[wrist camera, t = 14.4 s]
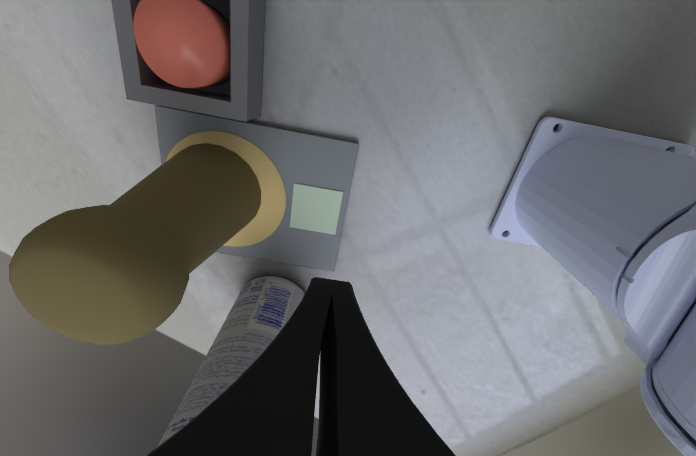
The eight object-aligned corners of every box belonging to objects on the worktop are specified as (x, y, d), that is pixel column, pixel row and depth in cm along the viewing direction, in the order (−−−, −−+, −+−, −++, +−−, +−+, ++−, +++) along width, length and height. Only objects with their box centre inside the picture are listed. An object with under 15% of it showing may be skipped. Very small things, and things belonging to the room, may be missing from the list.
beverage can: (229, 303, 24) (75, 578, 11) (264, 259, 22) (125, 534, 9) (285, 334, 26) (211, 610, 13) (323, 296, 24) (281, 579, 10)
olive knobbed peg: (165, 216, 20) (-16, 347, 10) (170, 128, 17) (-66, 194, 8) (252, 241, 21) (162, 386, 11) (270, 161, 18) (171, 259, 8)
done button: (239, 9, 15) (219, -2, 12) (238, 92, 16) (221, 95, 14) (160, -7, 14) (127, -22, 12) (168, 78, 16) (139, 79, 14)
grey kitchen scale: (358, 143, 18) (358, 144, 18) (334, 268, 22) (333, 272, 22) (158, 105, 17) (153, 105, 17) (173, 241, 22) (169, 245, 21)
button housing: (266, -10, 15) (249, -26, 12) (261, 115, 17) (246, 121, 15) (143, -37, 14) (102, -58, 12) (157, 96, 17) (126, 99, 15)
